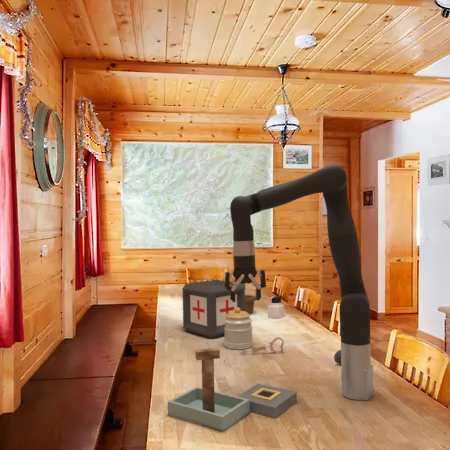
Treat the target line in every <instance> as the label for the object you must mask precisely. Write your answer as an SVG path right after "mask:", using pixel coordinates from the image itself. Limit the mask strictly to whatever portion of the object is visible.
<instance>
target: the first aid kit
mask: <svg viewBox="0 0 450 450" xmlns="http://www.w3.org/2000/svg"><path fill="white" fill-rule="evenodd" d="M233 282H234V281H231V280H230V281H229V286H230V287H231V285H232V284H233ZM224 284H225V280H222V279H211V280H210V279H209V280H202V281H196V282H188V283H185V284H184V285H183V287H182V325H183V327H182V328H183V330H185V331H186V332H188V333H191V334H194V333H195V334H194V335H199V336H202V337H205V338H208V339H216V338H219V337H225V336H224V327H225V322H224V320H225V319H226V314H228V313H229V312H231V311H235V308H237V307H238V308H240V310H241V311H245V295H246V289H245V287H244V285H243V284H240V283H239V285H238V286H237V287H236V289H235V290H234V291H235V302H232V300H231V299H230V291H229V290H227V289H225V288H224Z"/></svg>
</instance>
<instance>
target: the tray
mask: <svg viewBox="0 0 450 450" xmlns="http://www.w3.org/2000/svg"><path fill="white" fill-rule="evenodd" d="M237 396H238V395H234V394H233V395H232V394H229V393H223V392H220V391H216V390H214V399H215V412H214V413H213V412H209V411H206V410H203V403H202V387H199V386H196V387H194V388H192V389H189V390H187V391H186V392H184V393H181V394H179V395H178V396H176V397H174V398H172V399H169V400H168V401H167V415H168V416H171V417H174V418H177V419H180V420H184V421H186V422H191V423H192V424H193V423H194V424H196V425H200V426H203V427H206V428H210V429H213V430H216V431H219V432H222V433H224V432H225V431H227V429H229V428H231V427H232V426H233V425H236V423H238V422H239V421H241V420H242V419H243V418H245V417H246V416H248V415H249V414H251V412H250V400H249V399H245V398H241V397H237Z"/></svg>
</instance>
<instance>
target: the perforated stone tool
mask: <svg viewBox="0 0 450 450" xmlns="http://www.w3.org/2000/svg"><path fill="white" fill-rule="evenodd" d="M333 359H334V362H335V363H336V364H338V365H341V349H339V350H338V351H336V352H335V353H334V356H333Z"/></svg>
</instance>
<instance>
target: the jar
mask: <svg viewBox="0 0 450 450" xmlns="http://www.w3.org/2000/svg"><path fill="white" fill-rule="evenodd" d="M250 317H251V315H250V314H248V313H247V312H245V311H241V310H240V308H238V307H237V308H235V311H231V312H229V313H228V314H226V319H225V320H224V322H225V327H224V336H223V337H224V340H223V343H224V347H225V348H227V349H229V350H239V351H241V350H244V349H245V350H246V349H250V348H252V346H253V341H254V340H253V326H252V322H253V319H252V317H251V318H250Z"/></svg>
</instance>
